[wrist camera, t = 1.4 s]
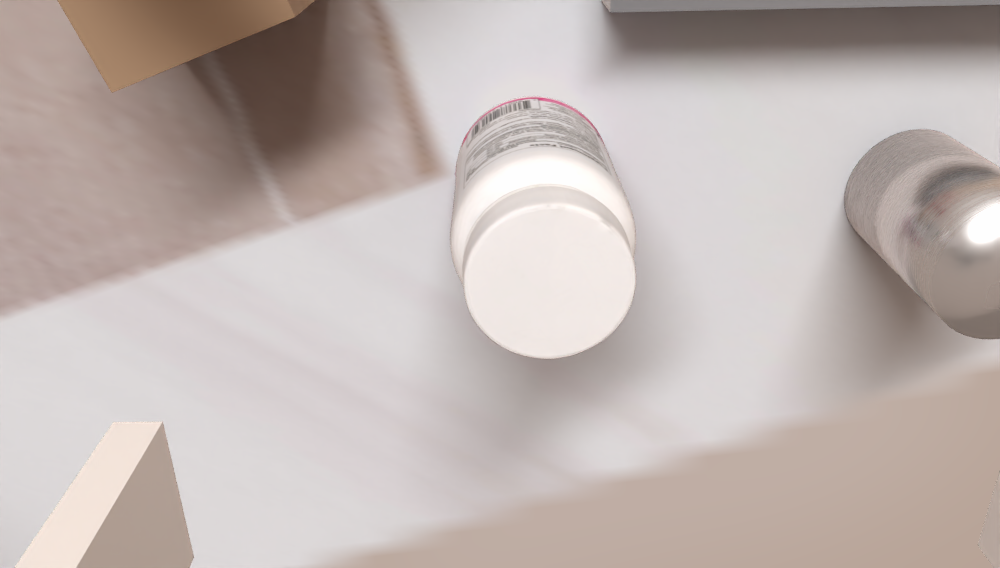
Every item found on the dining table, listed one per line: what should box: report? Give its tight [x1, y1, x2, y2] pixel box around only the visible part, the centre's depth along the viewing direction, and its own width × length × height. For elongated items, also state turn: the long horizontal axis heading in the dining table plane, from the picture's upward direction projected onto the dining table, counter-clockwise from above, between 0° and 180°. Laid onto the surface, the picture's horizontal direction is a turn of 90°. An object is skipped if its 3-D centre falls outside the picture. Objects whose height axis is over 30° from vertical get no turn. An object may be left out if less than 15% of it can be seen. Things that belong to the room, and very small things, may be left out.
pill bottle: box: [450, 96, 636, 359], centre depth 24 cm, size 5×5×8 cm
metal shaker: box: [845, 129, 1000, 339], centre depth 25 cm, size 4×4×6 cm
